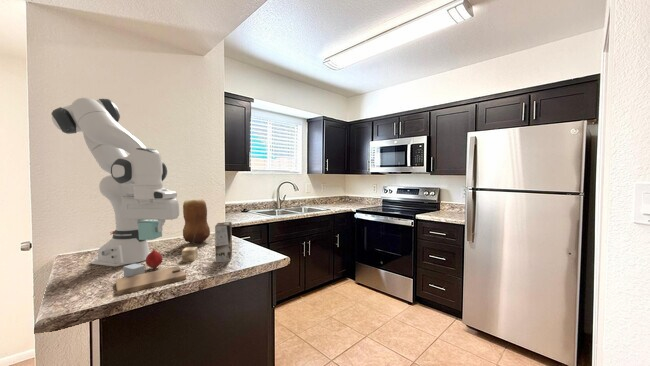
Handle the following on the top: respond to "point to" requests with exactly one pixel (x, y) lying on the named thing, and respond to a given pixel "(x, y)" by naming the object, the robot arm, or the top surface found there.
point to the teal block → (148, 230)
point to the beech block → (189, 254)
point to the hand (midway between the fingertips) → (150, 231)
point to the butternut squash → (195, 221)
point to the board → (149, 280)
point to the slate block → (133, 270)
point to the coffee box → (223, 242)
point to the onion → (154, 259)
